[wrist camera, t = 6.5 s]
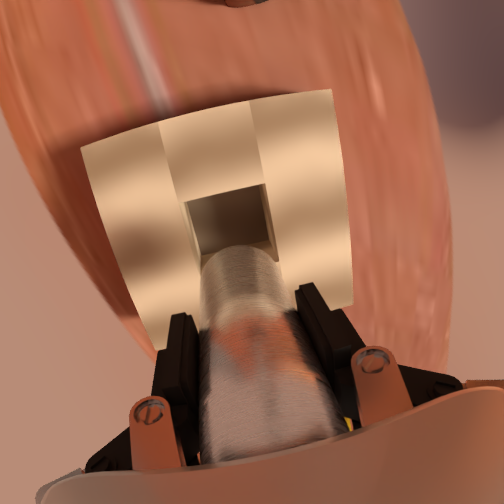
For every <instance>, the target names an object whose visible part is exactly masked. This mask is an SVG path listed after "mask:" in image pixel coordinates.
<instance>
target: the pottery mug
mask: <svg viewBox="0 0 504 504" xmlns="http://www.w3.org/2000/svg"><path fill="white" fill-rule="evenodd" d="M265 1H267V0H225V2H226V4H227V6H229V7H243V6H249V5H254V4H259V3H262V2H265Z"/></svg>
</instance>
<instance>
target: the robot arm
mask: <svg viewBox="0 0 504 504" xmlns="http://www.w3.org/2000/svg"><path fill="white" fill-rule="evenodd" d="M295 299H296V305H297V311H298V314H299V316H300V318H301V320H302V322H303V325H304V327H305V329H306V331H307V334H308V336H309V338H310V340H311V343H312V345H313V347H314V349H315V352H316V354H317V356H318V358H319V361H320V363H321V365H322V367H323V370H324V372H325V374H326V377H327V379H328V381H329V383H330V386H331V388H332V390H333V393H334V395H335V397H336V399H337V402H338V404H339V406H340V409H341V411H342V413H343V416H344V417H346V418H349V419H350V424H351V430H352V431H350V432H347V433H344V434H341V435H338V436H334V437H331V438H328V439H324V440H321V441H317V442H314V443H310V444H307V445H303V446H299V447H295V448H291V449H287V450H283V451H278V452H274V453H269V454H264V455H260V456H254V457H249V458H244V459H238V460H232V461H226V462H219V463H212V464H204V465H200V453H199V452H200V449H199V399H198V352H199V333H198V331H197V328H196V325H195V322H194V320H193V317H192V315H191V314H190V315H187V314H186V312H182V313H178V314H173V315H171V319H170V326H169V332H168V339H167V346H166V349H163V350H159V351H158V354H157V360H156V366H155V373H154V380H153V386H152V393H151V396H149V397H146V398H143V399H141V400H140V401H138V402H136V403H135V405H134V406H133V407H132V409H131V410H130V414H129V423H130V426H129V427H128V428H127V429H126V430H124V431H123V432H122V433H121V434H119V435H118V436H117V437H116V438H114V439H113V440H112V441H111V442H109V443H108V444H107V445H106V446H104V447H103V448H102V449H101V450H100V451H98V452H97V453H95V454H94V455H93V456H92V457H91V458H90V459H89V460H88V462H87V464H86V467H85V469H84V470H81V468H79V469H76V470H75V471H73V472H71V473H69V474H67V475H65V476H63V477H60V478H59V479H56V480H55V481H52V482H50V483H48V484H46V485H44V486H42V487H41V488H40V489H39V490H38V492H37V493H36V497H35V499H36V504H504V380H466V383H461V382H460V381H459V380H458V379H456V378H455V377H453V376H450V375H446V374H441V373H436V372H431V371H426V370H421V369H417V368H412V367H407V366H403V365H398V364H397V362H396V360H395V357H394V356H393V354H392V352H390V351H389V350H388V349H386V348H384V347H381V346H367V347H366V345H365V344H364V342H363V341H362V339H361V338H360V336H359V335H358V333H357V332H356V330H355V329H354V327H353V325H352V324H351V322H350V321H349V319H348V318H347V316H346V315H345V313H344V312H343V310H342V309H340V308H339V309H335V310H332V311H331V310H330V309H329V307H328V305H327V304H326V302H325V301H324V299H323V297H322V296H321V294H320V292H319V291H318V289H317V288H316V286H315V284H314V283H313V282H310V283H306V284H302V285H299V289H298V290H295Z"/></svg>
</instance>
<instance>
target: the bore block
mask: <svg viewBox="0 0 504 504" xmlns="http://www.w3.org/2000/svg"><path fill="white" fill-rule="evenodd" d="M80 149H81V153H82V157H83V160H84V164H85V167H86V171H87V174H88V178H89V181H90V185H91V188H92V191H93V194H94V198H95V201H96V204H97V207H98V210H99V213H100V216H101V219H102V222H103V225H104V228H105V231H106V234H107V236H108V239H109V242H110V245H111V247H112V250H113V253H114V255H115V258H116V261H117V263H118V266H119V268H120V271H121V273H122V276H123V278H124V281H125V283H126V286H127V288H128V291H129V293H130V295H131V298H132V300H133V302H134V305H135V307H136V309H137V311H138V314H139V316H140V318H141V320H142V323H143V325H144V327H145V329H146V331H147V333H148V335H149V338H150V340H151V342H152V344H153V346H154V348H155V350H161V349H166V346H167V339H168V332H169V326H170V319H171V315H173V314H178V313H182V312H186V314H187V315H190V314H191V315H192V317H193V320H194V322H195V325H196V328H197V331H198V333H199V300H200V277H201V273H202V270H203V268H204V266H205V264H206V263H207V261H208V260H209V259H210V258H211V257H212V256H213V255H215V254H216V253H217V252H219V251H221V250H223V249H225V248H228V247H231V246H237V245H246V246H252V247H255V248H258V249H260V250H262V251H264V252H265V253H267V254H268V255H269V256H270V257H271V258H272V259H273V260H274V262H275V263H276V265H277V267H278V270H279V272H280V274H281V276H282V278H283V280H284V283H285V285H286V287H287V289H288V291H289V294H290V296H291V298H292V300H293V303H294V305H295V307H296V309H297V305H296V299H295V290H298V289H299V285H302V284H306V283H310V282H313V283H314V284H315V286H316V288H317V289H318V291H319V292H320V294H321V296H322V297H323V299H324V301H325V302H326V304H327V305H328V307H329V309H330V310H335V309H338V308H342V307H345V306H349V305H352V304H353V278H352V259H351V243H350V229H349V217H348V206H347V196H346V187H345V178H344V169H343V161H342V154H341V146H340V139H339V132H338V126H337V119H336V113H335V107H334V101H333V96H332V90H331V89H326V90H316V91H308V92H300V93H292V94H285V95H278V96H272V97H266V98H260V99H254V100H248V101H243V102H238V103H233V104H228V105H223V106H218V107H214V108H209V109H205V110H201V111H197V112H193V113H188V114H185V115H181V116H177V117H173V118H169V119H166V120H162V121H159V122H155V123H152V124H148V125H145V126H142V127H138V128H135V129H132V130H129V131H126V132H123V133H120V134H117V135H114V136H111V137H108V138H105V139H102V140H100V141H97V142H94V143H91V144H89V145H86V146H83V147H81V148H80Z"/></svg>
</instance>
